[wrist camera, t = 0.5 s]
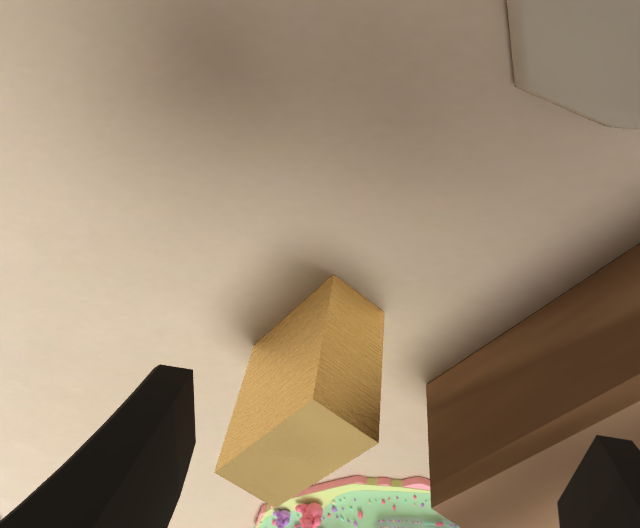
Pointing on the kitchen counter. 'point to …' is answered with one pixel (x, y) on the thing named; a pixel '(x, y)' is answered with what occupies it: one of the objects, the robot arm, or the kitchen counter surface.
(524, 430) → the coin box
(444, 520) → the candy landscape model
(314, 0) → the kitchen counter surface
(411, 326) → the kitchen counter surface
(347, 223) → the kitchen counter surface
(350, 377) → the wooden block
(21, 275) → the kitchen counter surface
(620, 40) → the flask
